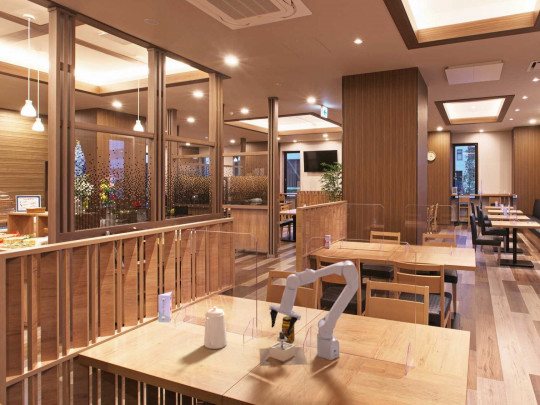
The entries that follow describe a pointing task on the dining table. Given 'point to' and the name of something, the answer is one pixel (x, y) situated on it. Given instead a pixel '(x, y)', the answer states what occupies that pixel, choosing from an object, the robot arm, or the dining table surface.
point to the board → (267, 360)
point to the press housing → (282, 352)
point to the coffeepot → (215, 329)
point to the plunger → (282, 339)
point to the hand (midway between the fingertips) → (280, 329)
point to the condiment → (285, 328)
